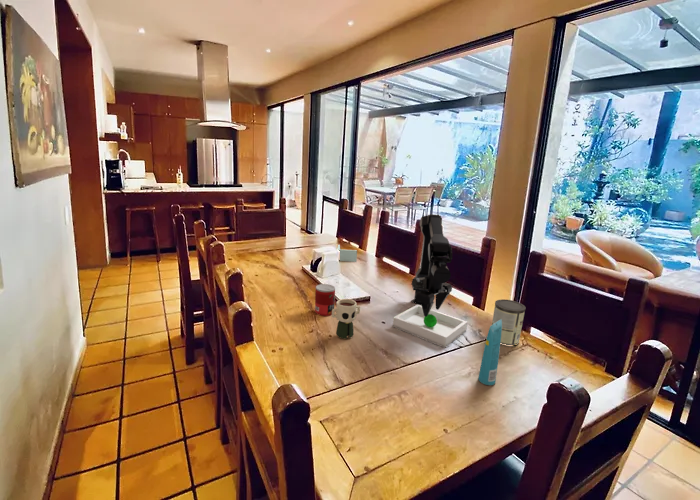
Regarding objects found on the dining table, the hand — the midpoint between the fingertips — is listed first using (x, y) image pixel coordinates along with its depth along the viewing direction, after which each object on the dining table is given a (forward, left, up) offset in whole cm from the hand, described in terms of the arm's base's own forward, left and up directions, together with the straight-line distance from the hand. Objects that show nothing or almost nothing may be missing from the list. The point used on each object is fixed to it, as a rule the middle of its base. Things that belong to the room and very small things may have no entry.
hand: (431, 312), depth 141 cm
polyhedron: (0, 0, -6) cm, 6 cm away
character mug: (+28, -19, -7) cm, 35 cm away
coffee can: (-13, +24, -7) cm, 28 cm away
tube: (+18, +29, -7) cm, 35 cm away
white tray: (0, 0, -7) cm, 7 cm away
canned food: (+19, -38, -7) cm, 43 cm away
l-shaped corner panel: (-48, -84, -8) cm, 97 cm away
